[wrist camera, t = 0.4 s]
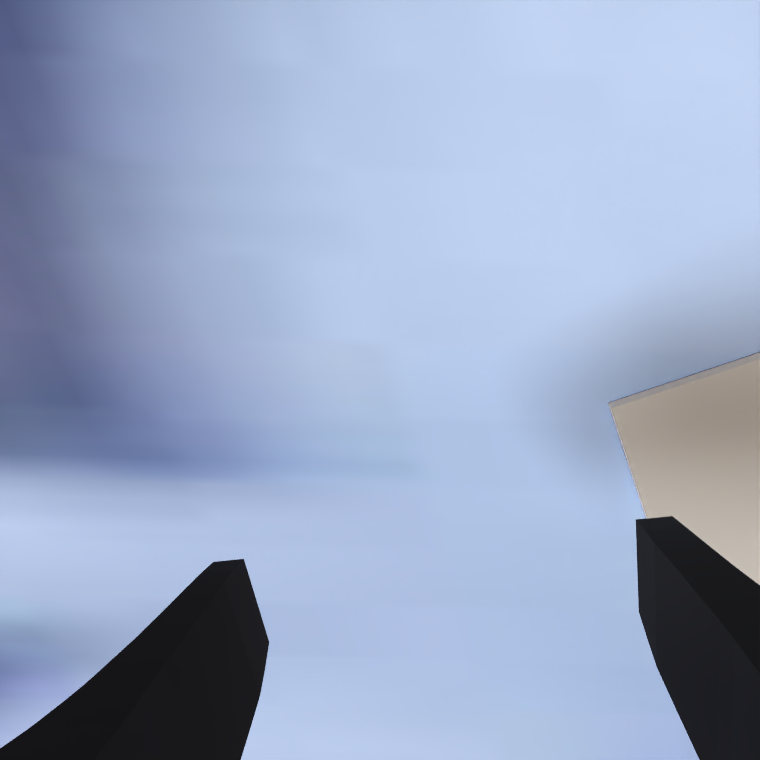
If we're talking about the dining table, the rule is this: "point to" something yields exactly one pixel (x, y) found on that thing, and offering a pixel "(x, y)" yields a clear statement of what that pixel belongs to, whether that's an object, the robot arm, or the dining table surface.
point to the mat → (701, 456)
